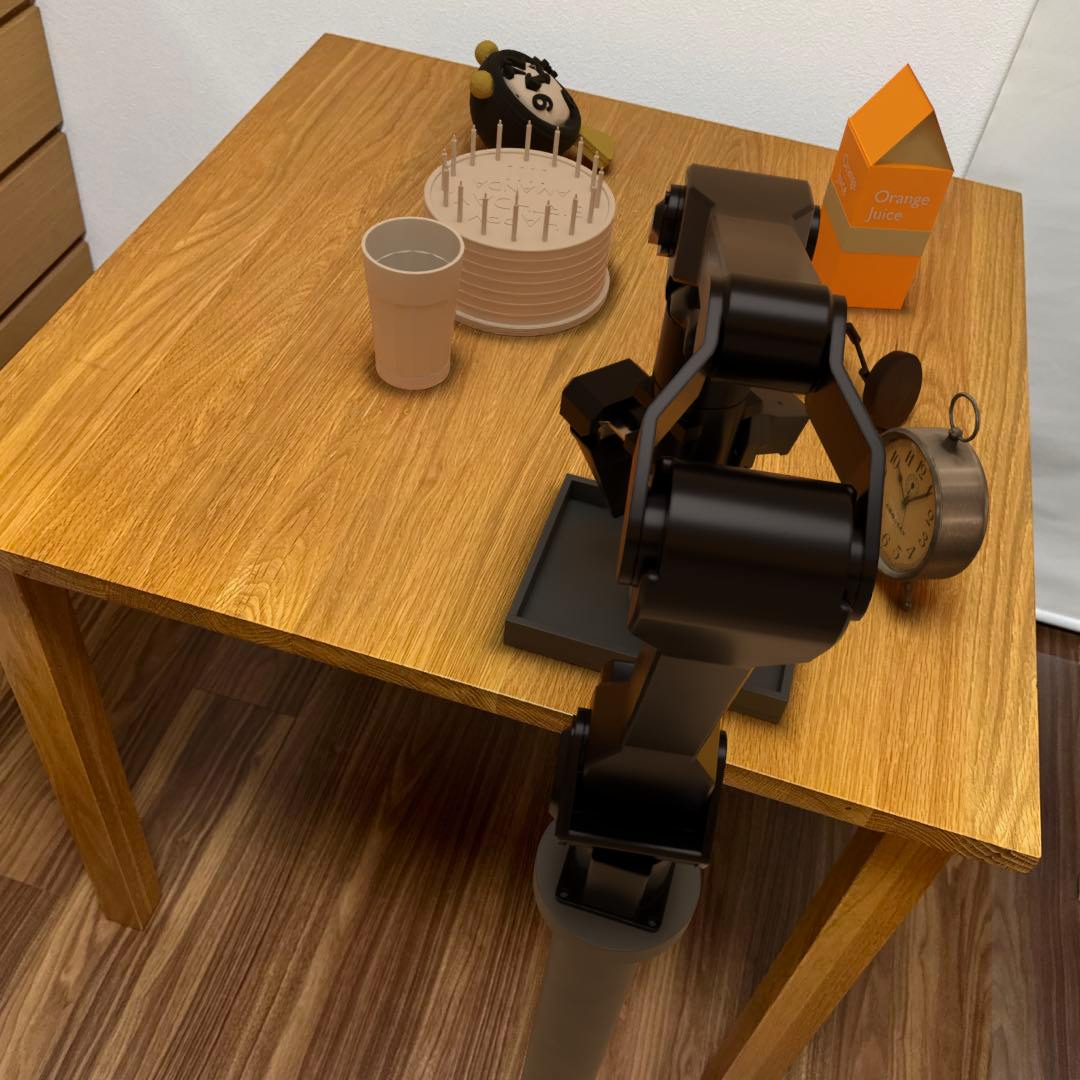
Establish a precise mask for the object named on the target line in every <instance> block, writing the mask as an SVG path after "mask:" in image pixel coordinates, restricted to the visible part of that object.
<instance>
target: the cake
mask: <svg viewBox="0 0 1080 1080" xmlns="http://www.w3.org/2000/svg"><path fill="white" fill-rule="evenodd" d="M530 122H531V121H530V120H529V123H528V125H527V131H526V143H525V149H519V148H501V140H502V124H501V120H499V124H498V128H497V145H496V149H488V148H487V149H479V150H476V145H477V143H476V141H477V132H476V129H475V125H473V124H472V128H471V132H470V152H467V153H463V154H460V155H458V156H457V145H458V144H457V143H458V139H456V135H455V134H453V137H452V139H451V155H450V156H451V157H450V158H451V159H449V160H448V153H447V150H446V148H443V152H442V153H441V164H440V165H439V166H437V168H435V169H434V171H432V172H431V174H430V175H429V176H428V178H427V179H426V182H425V184H424V187H423V216H422V217H423V218H429V219H433V220H436V221H439V222H442V223H444V224H446V225H448V226H450V227H451V228H453V229H454V230H455V231H457V232H458V233H459V235H460V236H461V237H462V239H463V242H464V255H463V262H462V269H461V276H460V283H459V289H458V297H457V305H456V313H455V321H454V322H458V323H459V324H462V325H464V326H466V327H469V328H473V329H475V330H479V331H482V332H485V333H486V332H487V333H489V334H496V335H504V336H512V337H513V336H515V337H533V336H543V335H551V334H556V333H560V332H563V331H566V330H570V329H572V328H575V327H577V326H579V325H581V324H583V323H585V322H586V321H588V320H590V319H591V318H592V317H593V316H595V314H597V313H598V312H599V311H600V310H601V308H602V307H603V305H604V304H605V302H606V300H607V297H608V294H609V289H610V279H611V278H610V272H609V269H608V264H609V256H610V251H611V250H610V249H611V245H612V244H611V243H612V236H613V231H614V224H615V215H616V212H617V204H616V203H617V202H616V197H615V195H614V193H613V191H612V190H611V187H610V186H609V185H608V184H607V183H606V182H605V180H604V174H605V171H603V170H604V169H603V167H601V169H600V170H599V171H598V169H599V168H598V161H599V156H598V151H596V155H595V156H594V162H592V170H591V169H590V168H588V167H586V166H584V165H583V164H582V158H583V153H582V151H583V141H582V139H583V138H582V137H581V139H580V141H579V144H578V148H577V153H576V161H574V160H572V159H569V158H567V157H564V156H558V145H559V136H560V131H559V127H557V130H556V131H555V138H554V148H553V154H551V153H547V152H542V151H537V150H530V139H531V127H532V125H530Z"/></svg>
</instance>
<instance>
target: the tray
mask: <svg viewBox="0 0 1080 1080" xmlns="http://www.w3.org/2000/svg"><path fill="white" fill-rule="evenodd" d="M623 522H624V515H623V516H621V517H618V518H616V519H615V518H613V517H612V516H611V514H610V512H609V510H608V507H607V505H606V503H605V501H604V498H603V496H602V494H601V492H600V489H599V487H598V485H597V482H596V480H595V479H591V478H589V477H584V476H581V475H576V474H573V473H570V472H566V474H565V476H564V478H563V480H562V483H561V485H560V488H559V490H558V493H557V495H556V497H555V500H554V502H553V504H552V506H551V509H550V511H549V513H548V516H547V519H546V521H545V524H544V526H543V528H542V531H541V534H540V535H539V537H538V540H537V543H536V545H535V546H534V547H535V548H534V550H533V552H532V555H531V557H530V560H529V561H528V564H527V567H526V569H525V571H524V574H523V576H522V579H521V581H520V583H519V586H518V588H517V591H516V593H515V595H514V598H513V600H512V603H511V605H510V607H509V610H508V612H507V615H506V616H505V620H504V628H503V638H502V639H503V640H502V644H504V645H508V646H511V647H514V648H517V649H521V650H525V651H528V652H531V653H534V654H538V655H541V656H545V657H548V658H552V659H555V660H558V661H563V662H565V663H569V664H572V665H576V666H578V667H581V668H582V667H583V668H586V669H590V670H592V671H595V672H600V673H601V672H602V667H603V664H604V663H605V662H607V661H608V660H610V659H618V660H625V661H631V662H636V660H637V657H638V654H639V651H640V649H641V646H642V643H643V640H641V639H639V638H637V637H636V636H634V635H632V634H631V633H630V631H629V630H628V629H627V621H628V613H629V606H630V598H629V587H630V586H627V585H621V584H616V573H617V564H618V557H619V549H620V543H621V536H622V529H623ZM795 666H796V664H784V665H773V666H761V667H755V668H754V669H753V671H752V672H751V674H750V675H749V677H748V678H747V680H746V681H745V683H744V684H743V686H742V687H741V689H740V691H739V692H738V694H737V695H736V697H735V698H734V700H733V701H732V703H731V704H730V706H729V707H728V709H727V710H729V711H733V712H736V713H739V714H742V715H746V716H749V717H753V718H757V719H760V720H763V721H766V722H770V723H773V724H776V725H779V724H780V723H781V720H782V718H783V715H784V713H785V711H786V708H787V706H788V704H789V700H790V694H791V688H792V683H793V677H794V672H795Z"/></svg>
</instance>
